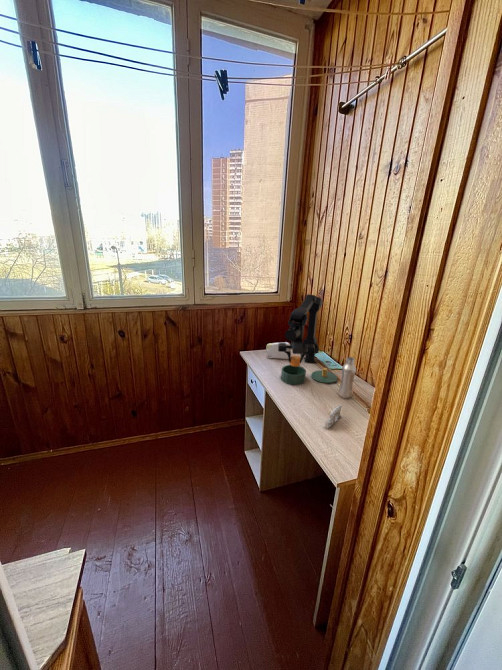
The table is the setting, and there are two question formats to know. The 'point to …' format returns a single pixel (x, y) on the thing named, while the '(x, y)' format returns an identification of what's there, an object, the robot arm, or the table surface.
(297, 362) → the candle
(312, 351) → the robot arm
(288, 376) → the tin
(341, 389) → the silver metal bottle
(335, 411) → the grey stone
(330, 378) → the tin lid
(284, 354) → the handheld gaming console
